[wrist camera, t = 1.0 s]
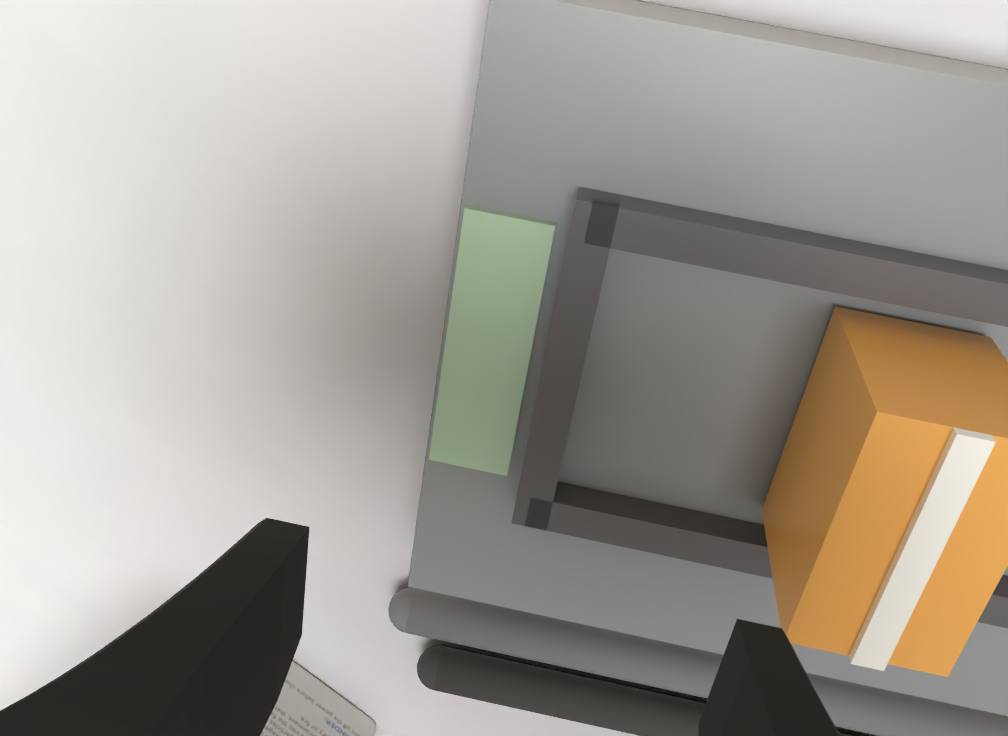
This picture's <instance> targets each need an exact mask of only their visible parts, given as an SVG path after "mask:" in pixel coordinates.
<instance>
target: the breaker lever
mask: <svg viewBox="0 0 1008 736" xmlns="http://www.w3.org/2000/svg"><path fill="white" fill-rule="evenodd" d="M762 515H763V522H764V528H765V534H766V540H767V546H768V552H769V558H770V565H771V571H772V577H773V583H774V589H775V595H776V601H777V607H778V614H779V620H780V626H781V628H782V629H783V631H784V632H785V634H786V636H787V637H788V639H789V641H790V643H791V644H796V645H800V646H805V647H810V648H814V649H819V650H824V651H828V652H833V653H838V654H842V655H847V656H849V659H850V664H853V665H858V666H862V667H867V668H872V669H876V670H881V671H884V670H885V668H886V666H887V664H889V665H894V666H898V667H903V668H908V669H912V670H917V671H922V672H926V673H931V674H935V675H940V676H945V677H948V676H949V674H950V672H951V670H952V668H953V666H954V665H955V663H956V661H957V659H958V657H959V655H960V653H961V651H962V650H963V648H964V646H965V644H966V642H967V640H968V638H969V637H970V635H971V633H972V631H973V629H974V627H975V625H976V624H977V622H978V620H979V618H980V616H981V614H982V612H983V611H984V609H985V607H986V605H987V603H988V601H989V599H990V597H991V596H992V594H993V592H994V590H995V588H996V586H997V584H998V583H999V581H1000V579H1001V577H1002V575H1003V573H1004V571H1005V570H1006V568H1007V566H1008V361H1007V360H1006V359H1005V357H1004V356H1003V354H1002V353H1001V351H1000V350H999V348H998V347H997V346H996V344H995V343H994V341H993V340H992V338H991V337H987V336H982V335H977V334H972V333H967V332H962V331H957V330H952V329H947V328H942V327H937V326H932V325H927V324H922V323H917V322H912V321H907V320H901V319H896V318H891V317H886V316H881V315H876V314H871V313H866V312H861V311H856V310H851V309H846V308H841V307H836V306H835V308H834V311H833V314H832V317H831V319H830V322H829V325H828V328H827V330H826V333H825V336H824V339H823V342H822V344H821V347H820V350H819V353H818V355H817V358H816V361H815V364H814V367H813V369H812V372H811V375H810V378H809V380H808V383H807V386H806V389H805V391H804V394H803V397H802V400H801V403H800V405H799V408H798V411H797V414H796V416H795V419H794V422H793V425H792V428H791V430H790V433H789V436H788V439H787V441H786V444H785V447H784V450H783V453H782V455H781V458H780V461H779V464H778V466H777V469H776V472H775V475H774V478H773V480H772V483H771V486H770V489H769V491H768V494H767V497H766V500H765V503H764V505H763V508H762Z"/></svg>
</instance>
